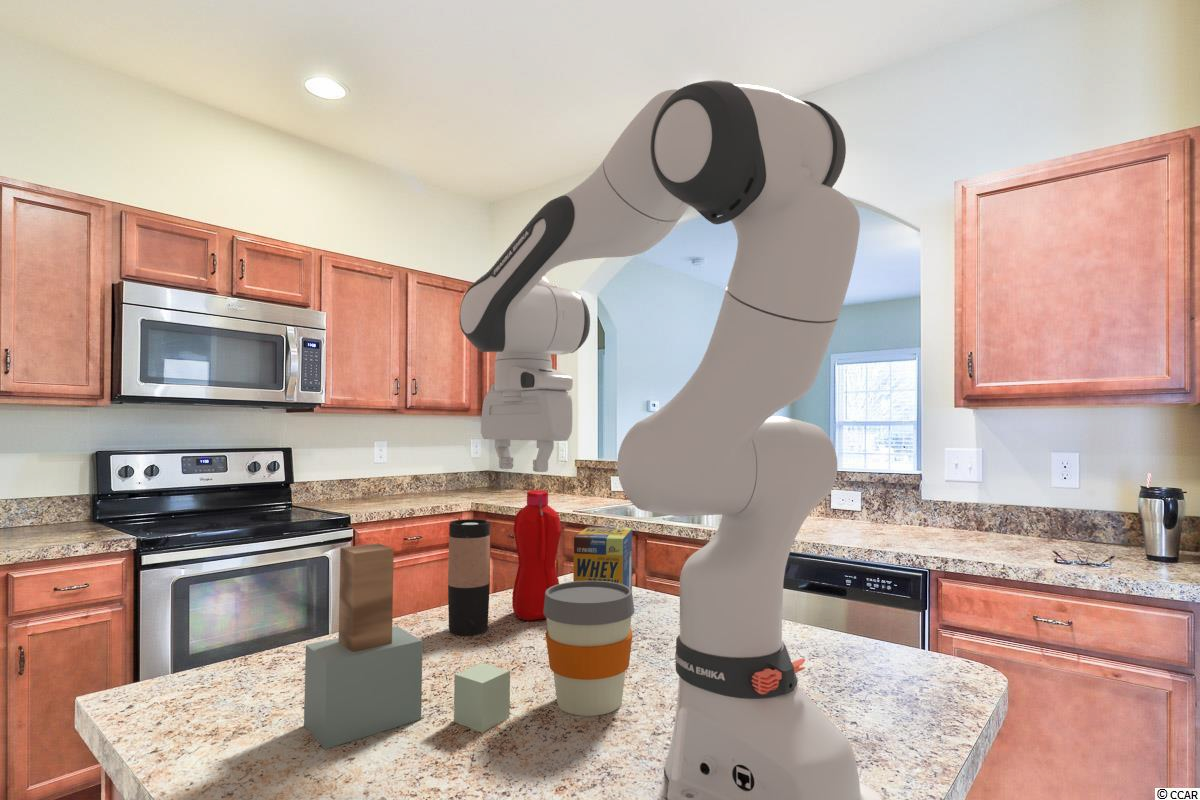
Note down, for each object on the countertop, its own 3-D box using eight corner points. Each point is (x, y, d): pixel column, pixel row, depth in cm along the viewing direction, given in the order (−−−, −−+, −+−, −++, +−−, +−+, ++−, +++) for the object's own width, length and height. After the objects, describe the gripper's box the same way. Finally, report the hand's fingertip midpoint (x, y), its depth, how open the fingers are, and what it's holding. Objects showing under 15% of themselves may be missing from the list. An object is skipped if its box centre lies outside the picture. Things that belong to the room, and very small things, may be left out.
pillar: (391, 643, 82) (393, 548, 83) (352, 652, 79) (354, 553, 79) (376, 633, 86) (378, 543, 86) (338, 641, 83) (340, 547, 83)
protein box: (572, 613, 131) (572, 536, 132) (587, 594, 146) (587, 525, 147) (623, 616, 129) (623, 538, 130) (633, 596, 144) (633, 527, 145)
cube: (509, 717, 84) (510, 670, 84) (482, 732, 79) (482, 683, 80) (481, 708, 86) (482, 662, 87) (453, 722, 82) (454, 674, 82)
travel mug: (439, 634, 117) (441, 523, 118) (460, 622, 124) (461, 518, 125) (477, 638, 115) (478, 525, 116) (496, 625, 122) (497, 520, 123)
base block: (421, 719, 83) (422, 640, 83) (324, 749, 75) (326, 662, 75) (395, 699, 89) (396, 626, 89) (303, 725, 81) (305, 644, 81)
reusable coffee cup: (651, 694, 90) (650, 586, 91) (604, 731, 80) (603, 608, 80) (577, 676, 97) (576, 576, 98) (525, 708, 86) (524, 595, 87)
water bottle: (520, 626, 122) (521, 494, 123) (509, 610, 132) (510, 488, 134) (567, 621, 125) (567, 492, 126) (553, 607, 135) (554, 487, 137)
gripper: (471, 383, 105) (470, 467, 105) (545, 375, 90) (544, 474, 89) (504, 385, 109) (503, 466, 109) (580, 377, 94) (579, 472, 93)
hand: (522, 470), depth 99 cm, fingers open, 8 cm apart
